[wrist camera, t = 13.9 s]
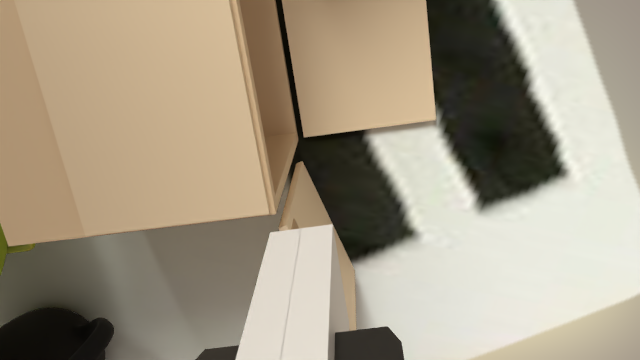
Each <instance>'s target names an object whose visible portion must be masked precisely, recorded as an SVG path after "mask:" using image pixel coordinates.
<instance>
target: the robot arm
mask: <svg viewBox="0 0 640 360" xmlns="http://www.w3.org/2000/svg"><path fill="white" fill-rule="evenodd" d="M196 360H404V356H403V349H402V343H401V341H400V340H399V339H398V338H397V337H396V335H395V334H394V333H393V332H392V331H391V330H390V329H389V328H388V327H379V328H370V329H362V330H353V331H349V319H348V313H347V307H346V301H345V295H344V289H343V283H342V277H341V271H340V265H339V259H338V253H337V247H336V241H335V235H334V229H333V224H330V225H323V226H315V227H308V228H300V229H292V230H285V231H277V232H270V235H269V239H268V242H267V246H266V250H265V253H264V257H263V260H262V264H261V268H260V271H259V275H258V279H257V282H256V286H255V290H254V293H253V297H252V301H251V304H250V308H249V312H248V315H247V319H246V323H245V326H244V330H243V334H242V337H241V341H240V345H239V346H230V347H222V348H213V349H205V350H204V351H203V352H202V353H201V354H200V355H199V357H198V358H197V359H196Z"/></svg>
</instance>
